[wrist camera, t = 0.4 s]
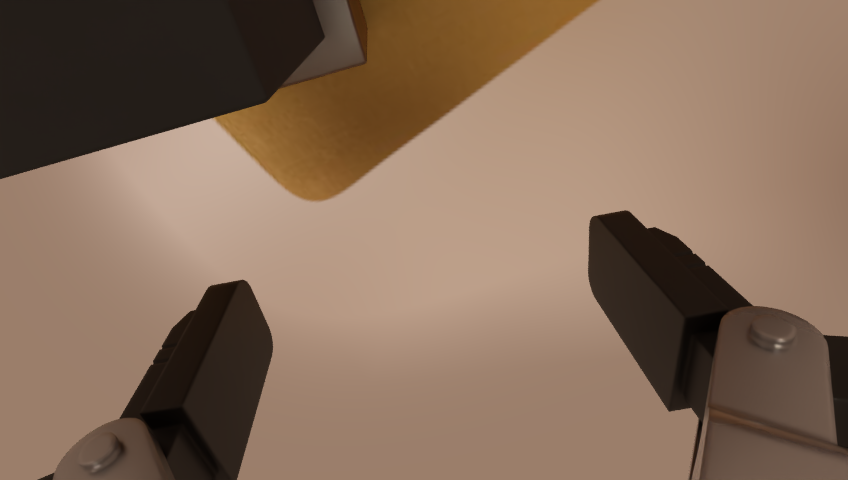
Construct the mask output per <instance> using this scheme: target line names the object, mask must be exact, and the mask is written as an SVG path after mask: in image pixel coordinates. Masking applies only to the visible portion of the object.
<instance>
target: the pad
mask: <svg viewBox="0 0 848 480" xmlns="http://www.w3.org/2000/svg"><path fill="white" fill-rule="evenodd" d="M324 38H325V36H324V33H323V30H322V27H321V24H320V21H319V18H318V15H317V12H316V9H315V6H314V3H313V0H0V179H2V178H6V177H9V176H13V175H16V174H19V173H23V172H27V171H30V170H33V169H37V168H40V167H43V166H47V165H50V164H54V163H58V162H61V161H65V160H68V159H71V158H75V157H79V156H82V155H85V154H89V153H92V152H96V151H99V150H102V149H106V148H110V147H113V146H117V145H120V144H123V143H127V142H130V141H134V140H137V139H141V138H145V137H148V136H151V135H155V134H158V133H162V132H165V131H169V130H172V129H175V128H179V127H183V126H186V125H189V124H193V123H196V122H200V121H203V120H207V119H210V118H214V117H217V116H221V115H224V114H228V113H231V112H235V111H238V110H242V109H245V108H249V107H252V106H256V105H259V104H262V103H265V102H267V101H268V100H269V99H270V98H271V96H272V95H273V94H274V93H275V92H276V91H277V90H278V89H279V88H280V87H281V86H282V84H283V83H284V82H285V81H286V80H287V79H288V78H289V77H290V76H291V75H292V73H293V72H294V71H295V70H296V69H297V68H298V67H299V66H300V65H301V64H302V62H303V61H304V60H305V59H306V58H307V57H308V56H309V55H310V54H311V53H312V52H313V50H314V49H315V48H316V47H317V46H318V45H319V44H320V43H321V42H322V41H323V39H324Z"/></svg>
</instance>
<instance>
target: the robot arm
mask: <svg viewBox="0 0 848 480" xmlns="http://www.w3.org/2000/svg"><path fill="white" fill-rule="evenodd" d="M588 265H589V266H588V274H589V275H588V276H589V282H590V286H591V289H592V292H593V295H594V297H595V298H596V300H597V302H598V303H599V305H600V306H601V308H602V309H603V311H604V312H605V314H606V316H607V317H608V318H609V320H610V322H611V323H612V325H613V326H614V328H615V329H616V331H617V332H618V334H619V336H620V337H621V339H622V340H623V342H624V343H625V345H626V346H627V348H628V349H629V351H630V352H631V354H632V355H633V357H634V359H635V360H636V362H637V363H638V365H639V366H640V368H641V369H642V371H643V372H644V374H645V376H646V377H647V379H648V380H649V382H650V383H651V385H652V386H653V388H654V389H655V391H656V392H657V394H658V396H659V397H660V399H661V400H662V402H663V403H664V405H665V406H666V408H667V409H668V411H675V410H681V409H686V408H692V410H693V411H694V412H695V414H696V415H697V417H698V418H699V420H698V424H697V429H696V434H695V440H694V446H693V452H692V458H691V464H690V470H689V477H688V480H848V337H843V336H827V335H822V334H821V333H820V332H819V330H817V329H816V328H815V327H814V326H813V325H811V324H810V323H808V322H807V321H805V320H803V319H802V318H800V317H798V316H796V315H793V314H791V313H788V312H785V311H782V310H778V309H774V308H768V307H760V306H753V305H751V304H750V303H749V302H748V301H747V300H746V299H745V298H744V297H743V296H742V295H740V294H739V293H738V292H737V291H736V290H735V289H734V288H733V287H731V286H730V285H729V284H728V283H727V282H726V281H725V280H724V279H722V277H721V276H719V275H718V274H717V273H716V272H715V271H714V270H713V269H712V268H710V267H709V266H706V265H705V262H704V261H703V260H702V259H701V258H700V257H698V256H697V255H696V254H693V253H692V251H691V249H690V248H688V247H687V246H686V245H685V244H684V243H683V242H682V241H681V240H679V238H677V237H676V236H673V235H671V234H669V233H666V232H664V231H662V230H660V229H657V228H655V227H653V228H648V229H647V228H645V226H644V225H643V224H642V223H641V222H639V220H638V219H637V218H635V217H634V216H633V215H632V214H631V213H630V212H629V211H620V212H615V213H609V214H604V215H598V216H593V217H592V218H591V220H590V226H589V262H588ZM272 352H273V342H272V336H271V333H270V329H269V326H268V324H267V322H266V320H265V318H264V316H263V313H262V311H261V309H260V307H259V304H258V302H257V300H256V298H255V295H254V293H253V291H252V289H251V287H250V285H249V284H248V283H247V282H246V281H245V280H239V281H233V282H228V283H222V284H217V285H212V286H210V287H208V289H207V290H206V292H205V294H204V296H203V298H202V299H201V301H200V303H199V305H198V307H197V309H196V310H194V311H190V312H189V313H188V314H187V315H186V316H185V317H184V318H183V319H182V320H180V321H179V322H178V323H177V324H176V325H175V326H174V327H173V328H172V330H171V331H170V333H169V335H168V336H167V338H166V340H165V342H164V343H163V345H162V349H161V350H159V352H158V354H157V355H156V357H155V359H154V360H153V363H154V364H153V365H151V366H150V367H149V369H148V371H147V373H146V374H145V376H144V378H143V379H142V381H141V383H140V385H139V386H138V388H137V390H136V391H135V393H134V395H133V397H132V398H131V400H130V402H129V403H128V405H127V407H126V408H125V410H124V412H123V414H122V415H121V417H120V419H118V420H114V421H111V422H109V423H107V424H104V425H102V426H101V427H98V428H97V429H95V430H93V431H92V432H90V433H89V434H87V435H86V436H85V437H83V438H82V439H81V440H79V442H77V443H76V444H75V445H74V446H73V447H72V448H71V449H70V450H69V451H68V452H67V453H66V455H65V456H64V457H63V459H62V460H61V461H60V463H59V465H58V466H57V468H56V471H55V473H53V474H50V475H48V476H45V477H43V478H41V479H38V480H237V477H238V474H239V470H240V466H241V463H242V460H243V456H244V452H245V448H246V445H247V442H248V438H249V435H250V431H251V428H252V424H253V421H254V417H255V414H256V410H257V407H258V403H259V399H260V396H261V392H262V389H263V385H264V382H265V378H266V375H267V371H268V367H269V364H270V361H271V357H272Z"/></svg>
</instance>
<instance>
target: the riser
mask: <svg viewBox="0 0 848 480" xmlns="http://www.w3.org/2000/svg"><path fill="white" fill-rule="evenodd" d="M313 3H314V6H315V9H316V12H317V15H318V18H319V21H320V24H321V27H322V30H323V33H324V36H325V38H324V39H323V41H322V42H321V43H320V44H319V45H318V46H317V47H316V48H315V49H314V50H313V52H312V53H311V54H310V55H309V56H308V57H307V58H306V59H305V60H304V61H303V62H302V64H301V65H300V66H299V67H298V68H297V69H296V70H295V71H294V72H293V73H292V75H291V76H290V77H289V78H288V79H287V80H286V81H285V82H284V83H283V84H282V86H281V87H280V88H283V87H287V86H290V85H294V84H297V83H301V82H304V81H307V80H311V79H314V78H318V77H321V76H325V75H328V74H332V73H335V72H339V71H342V70H346V69H349V68H352V67H356V66H359V65H363V64H365V63H366V62H367V25H366V22H365V18H364V15H363V11H362V8H361V4H360V1H359V0H313ZM280 88H279V89H280Z"/></svg>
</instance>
